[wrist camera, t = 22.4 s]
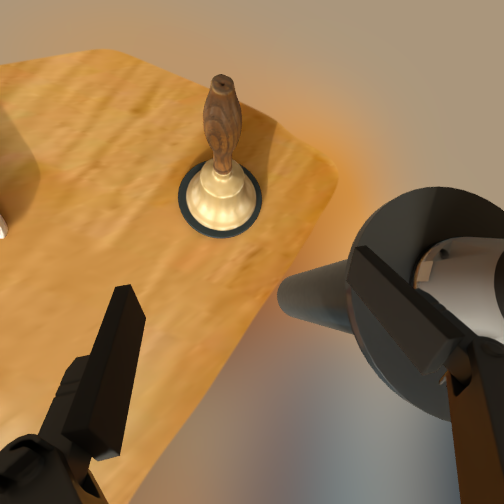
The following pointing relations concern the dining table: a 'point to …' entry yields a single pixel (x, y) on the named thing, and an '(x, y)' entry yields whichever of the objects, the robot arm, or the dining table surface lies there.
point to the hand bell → (221, 164)
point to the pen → (3, 227)
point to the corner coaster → (206, 230)
